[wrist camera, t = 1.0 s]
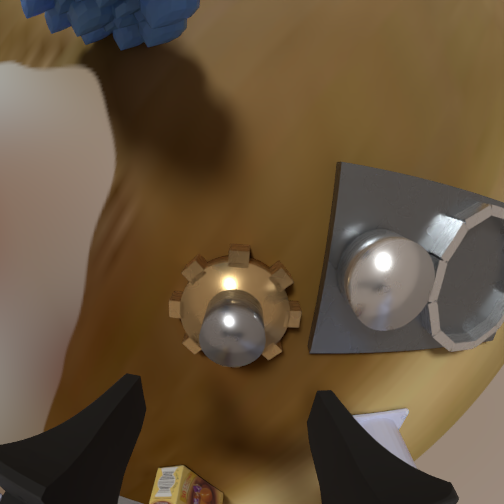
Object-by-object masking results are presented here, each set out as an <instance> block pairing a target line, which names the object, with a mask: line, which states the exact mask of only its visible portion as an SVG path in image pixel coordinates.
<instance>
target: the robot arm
mask: <svg viewBox="0 0 504 504" xmlns="http://www.w3.org/2000/svg"><path fill="white" fill-rule="evenodd" d="M145 412H146V405H145V400H144V395H143V389H142V383H141V378H140V376H137V375H132V374H125V375H124V376H123V377H122V378H121V379H120V380H118V381H117V382H116V383H115V384H114V385H113V386H112V387H111V388H110V389H108V390H107V391H106V392H105V393H104V394H103V395H101V396H100V397H99V398H98V399H97V400H95V401H94V402H93V403H92V404H90V405H89V406H88V407H86V408H85V409H84V410H82V411H81V412H79V413H78V414H77V415H75V416H74V417H72V418H70V419H69V420H67V421H65V422H64V423H62V424H60V425H58V426H56V427H54V428H52V429H50V430H48V431H46V432H43V433H41V434H39V435H36V436H33V437H31V438H27V439H24V440H21V441H17V442H13V443H8V444H3V445H0V486H1V487H2V488H3V489H4V490H5V493H4V495H2V494H1V493H0V504H118V499H119V494H120V489H121V485H122V480H123V476H124V473H125V470H126V467H127V464H128V462H129V459H130V456H131V454H132V451H133V449H134V446H135V444H136V441H137V439H138V436H139V434H140V431H141V428H142V424H143V421H144V416H145ZM408 413H409V410H408V409H407V408H404V409H398V410H392V411H385V412H378V413H370V414H360V415H351V414H350V412H349V411H348V410H347V409H346V408H345V406H344V405H343V404H342V403H341V402H340V400H339V399H338V398H337V397H336V395H335V394H334V393H333V392H332V391H331V390H327V391H317V393H316V396H315V400H314V403H313V406H312V409H311V412H310V415H309V418H308V421H307V426H308V436H309V444H310V448H311V452H312V456H313V460H314V464H315V469H316V473H317V477H318V481H319V485H320V491H321V500H322V504H456V503H457V502H458V500H459V497H458V495H457V493H456V491H455V489H454V487H453V486H452V484H451V483H450V482H447V481H444V480H442V479H439V478H436V477H433V476H431V475H428V474H426V473H424V472H422V471H420V470H418V469H417V468H416V466H415V463H414V461H413V459H412V457H411V455H410V453H409V451H408V449H407V447H406V444H405V442H404V440H403V438H402V436H401V434H400V432H399V428H400V427H401V425H402V423H403V422H404V420H405V418H406V417H407V415H408Z"/></svg>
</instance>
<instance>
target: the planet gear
mask: <svg viewBox="0 0 504 504" xmlns="http://www.w3.org/2000/svg"><path fill="white" fill-rule="evenodd" d="M249 255H250V245H239V244H230V248H229V256H222V257H218V258H215V259H213V260H211V261H209V262H207V261H206V260H205V259H204V258H203V257H202V256H201V255H200V254H198V255H197V256H196V257H195V258H194V259H193V260H191V261H190V262H189V263H188V264H187V265H186V266H185V268H184V269H183V271H182V274H183V275H184V276H185V277H186V278H187V279H188V281H189V282H188V284H187V286H186V288H185V290H184V292H179V291H174V293H173V294H172V296H171V298H170V300H169V317H174V318H181V321H182V324H183V327H184V329H185V331H186V333H185V336H184V339H183V342H182V343H183V344H184V345H185V346H186V347H187V348H188V349H189V350H190V351H191V352H192V353H194V354H196V353H197V352H199V351H200V350H202V351H203V352H204V354H205V355H206V356H207V357H208V358H209V359H211V360H212V361H214V362H215V363H217V364H220V365H222V366H226V367H238V368H239V367H240V366H244V365H247V364H250V363H252V362H253V361H255V360H256V359H257V358H258V357H259V356H260V355H261V354H262V355H263V356H264V357H265V358H266V359H268V360H270V359H271V358H273V357H274V356H276V355H278V354H279V353H281V352H282V346H281V340H280V339H281V338H282V337H283V335H284V333H285V331H286V329H287V327H297V328H299V324H300V318H301V313H302V311H301V308H300V305H299V302H298V301H288V297H287V294H286V290H285V288H287V287H288V286H289V285H291V284H292V283H293V279H292V277H291V274H290V273H289V271H288V270H287V269H286V268H285V267H284V266H283V264H282V263H281V262H280V261H277V262H276V263H275V264H274V265H272V266H271V267H269V266H267V265H266V264H264V263H262V262H261V261H259V260H256V259H254V258H251V257H249Z"/></svg>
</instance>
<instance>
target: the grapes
mask: <svg viewBox="0 0 504 504" xmlns="http://www.w3.org/2000/svg"><path fill="white" fill-rule="evenodd" d="M20 1H21V5H22V8H23V12H24V14H25V16H26V18H30V17H33V16H36V15H39V14H41V13H44V12H45V19H46V23H47V25H48V28H49V30H50V32H51V33H52V34H53V33H55V32H58V31H61V30H64V29H66V28H68V27H70V26H72V28H73V30H74V32H75V34H76V35H77V37H78V36H81V37H82V39H83V41H84V43H85V44H86V45H87V44H90V43H94V42H96V41H99V40H101V39H103V38H106V37H107V36H109V35H110V34H111V33H113V38H114V40H115V42H116V43H117V45H118V47H119V48H120V50H121V51H122V50H125V49H129V48H132V47H135V46H138V45H140V44H142V43H143V42H145V44H146V45H147V47H152V46H156V45H160V44H164V43H167V42H170V41H171V40H173V39H175V38H177V37H179V36H180V35H181V34H182V33H183V32H184V30H185V29H186V28H187V18H189V17H191V16H192V15H193V14H194V13H195V11H196V10H197V9H198V8H199V3H200V0H20Z"/></svg>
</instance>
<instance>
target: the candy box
mask: <svg viewBox="0 0 504 504" xmlns="http://www.w3.org/2000/svg"><path fill="white" fill-rule="evenodd" d="M149 504H223V493H222V492H221V491H219V490H218V489H216V488H215V487H213V486H211V485H210V484H209V483H207V482H206V481H205V480H203V479H202V478H200V477H199V476H197V475H196V474H195V473H193V472H192V471H191V470H189V469H188V468H187V467H185V466H184V465H181V466H171V467H162V468H158V471H157V474H156V479H155V483H154V487H153V490H152V495H151V498H150V502H149Z"/></svg>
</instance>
